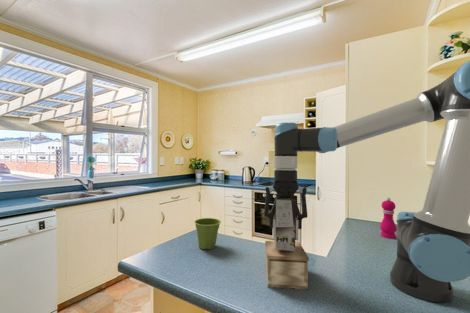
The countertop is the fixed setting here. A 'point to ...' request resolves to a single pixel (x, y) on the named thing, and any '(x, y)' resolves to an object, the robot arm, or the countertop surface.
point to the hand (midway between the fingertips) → (285, 237)
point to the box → (287, 273)
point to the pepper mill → (388, 220)
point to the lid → (285, 252)
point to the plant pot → (207, 232)
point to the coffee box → (285, 223)
